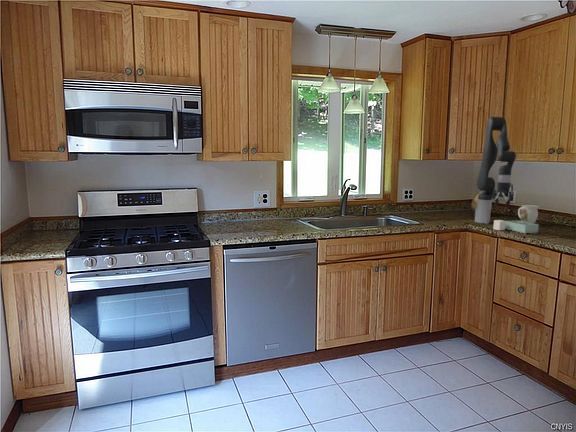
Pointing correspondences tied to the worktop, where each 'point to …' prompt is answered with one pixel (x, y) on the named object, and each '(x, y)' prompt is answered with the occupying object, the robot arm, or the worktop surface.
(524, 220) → the pitcher
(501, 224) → the cream box
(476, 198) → the ceramic jug
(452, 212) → the worktop surface
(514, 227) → the tote
